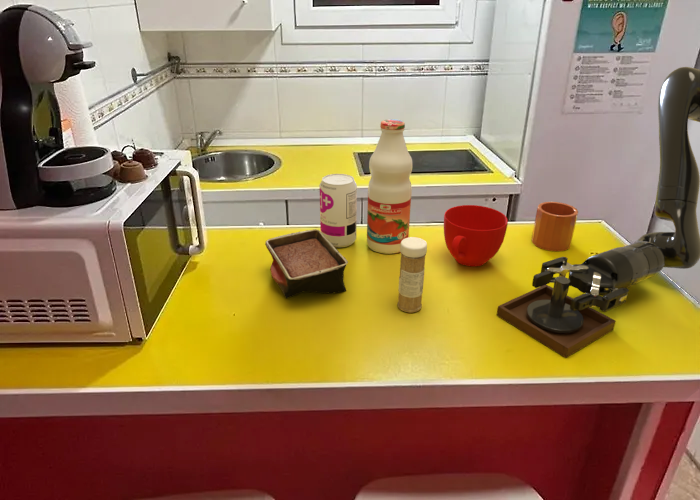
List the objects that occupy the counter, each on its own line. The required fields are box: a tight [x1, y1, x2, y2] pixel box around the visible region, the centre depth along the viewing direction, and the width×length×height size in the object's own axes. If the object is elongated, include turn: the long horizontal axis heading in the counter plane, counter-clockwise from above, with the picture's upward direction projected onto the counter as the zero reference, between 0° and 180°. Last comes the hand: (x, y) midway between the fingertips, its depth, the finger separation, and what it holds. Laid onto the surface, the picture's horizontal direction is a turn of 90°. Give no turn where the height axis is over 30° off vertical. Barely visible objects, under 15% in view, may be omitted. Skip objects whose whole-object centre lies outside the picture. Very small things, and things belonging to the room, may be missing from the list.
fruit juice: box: [366, 118, 413, 255], centre depth 111 cm, size 9×9×28 cm
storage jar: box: [531, 201, 579, 252], centre depth 117 cm, size 8×8×8 cm
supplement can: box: [318, 173, 358, 249], centre depth 116 cm, size 8×8×15 cm
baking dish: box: [264, 228, 349, 299], centre depth 102 cm, size 14×18×10 cm
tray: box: [496, 284, 617, 359], centre depth 91 cm, size 14×13×2 cm
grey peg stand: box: [527, 275, 584, 333], centre depth 90 cm, size 9×9×8 cm
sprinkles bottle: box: [397, 236, 428, 314], centre depth 93 cm, size 5×5×13 cm
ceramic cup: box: [443, 204, 509, 268], centre depth 108 cm, size 13×17×10 cm
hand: (552, 293), depth 88 cm, fingers open, 7 cm apart
